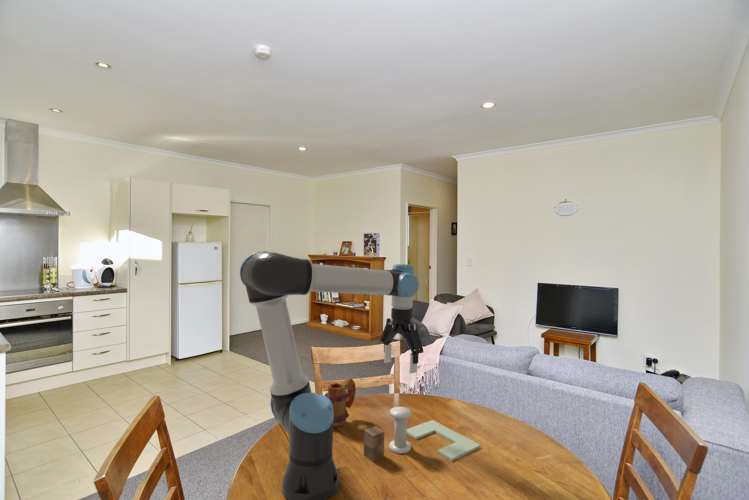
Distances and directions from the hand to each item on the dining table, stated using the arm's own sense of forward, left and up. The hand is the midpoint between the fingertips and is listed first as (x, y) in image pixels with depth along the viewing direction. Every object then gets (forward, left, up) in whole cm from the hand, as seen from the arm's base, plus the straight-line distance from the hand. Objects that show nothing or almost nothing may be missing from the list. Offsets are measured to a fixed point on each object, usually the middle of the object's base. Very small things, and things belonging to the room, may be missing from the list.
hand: (399, 367), depth 134 cm
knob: (-7, -9, -23) cm, 25 cm away
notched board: (+8, -13, -23) cm, 27 cm away
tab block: (-17, -8, -23) cm, 29 cm away
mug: (-13, +18, -23) cm, 32 cm away
